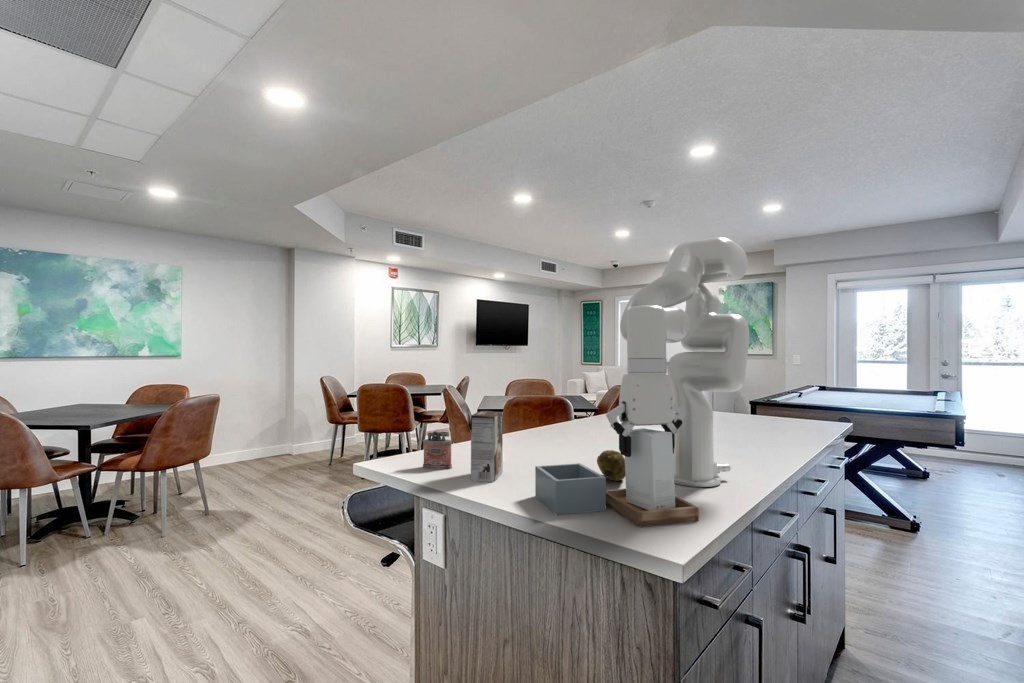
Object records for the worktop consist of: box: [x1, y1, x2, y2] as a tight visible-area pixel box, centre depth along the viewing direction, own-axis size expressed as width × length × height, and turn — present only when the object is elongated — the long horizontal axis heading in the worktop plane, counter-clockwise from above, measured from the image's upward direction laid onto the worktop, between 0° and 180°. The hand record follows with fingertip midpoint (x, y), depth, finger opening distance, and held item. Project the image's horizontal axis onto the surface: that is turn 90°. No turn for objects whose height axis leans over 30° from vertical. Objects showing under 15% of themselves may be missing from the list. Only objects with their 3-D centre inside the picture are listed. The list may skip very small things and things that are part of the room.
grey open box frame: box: [534, 462, 607, 516], centre depth 99 cm, size 11×13×6 cm
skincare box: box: [624, 427, 676, 511], centre depth 94 cm, size 8×6×15 cm
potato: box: [596, 449, 625, 482], centre depth 116 cm, size 8×13×8 cm, turn 152°
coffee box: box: [470, 410, 504, 483], centre depth 120 cm, size 9×6×16 cm
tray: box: [606, 488, 700, 528], centre depth 94 cm, size 13×15×2 cm
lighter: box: [422, 430, 453, 470], centre depth 129 cm, size 8×3×10 cm, turn 81°
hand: (647, 454), depth 94 cm, fingers open, 9 cm apart
